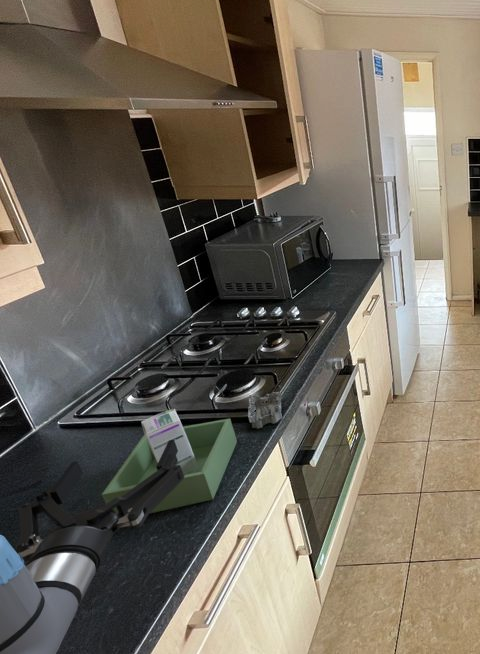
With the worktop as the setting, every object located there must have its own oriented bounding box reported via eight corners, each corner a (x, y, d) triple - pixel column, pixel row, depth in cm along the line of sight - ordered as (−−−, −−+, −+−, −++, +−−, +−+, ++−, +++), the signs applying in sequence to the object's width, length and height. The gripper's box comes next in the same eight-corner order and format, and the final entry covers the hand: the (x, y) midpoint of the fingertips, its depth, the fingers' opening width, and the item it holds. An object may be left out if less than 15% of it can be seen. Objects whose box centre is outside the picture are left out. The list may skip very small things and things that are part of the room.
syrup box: (201, 472, 90) (182, 419, 84) (167, 490, 86) (145, 434, 80) (194, 459, 93) (175, 406, 88) (161, 474, 89) (139, 420, 84)
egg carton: (251, 406, 111) (248, 394, 110) (283, 398, 114) (280, 386, 113) (249, 432, 102) (245, 418, 101) (283, 422, 106) (280, 409, 104)
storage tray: (114, 521, 80) (101, 494, 78) (154, 457, 95) (145, 433, 92) (213, 499, 85) (204, 473, 82) (237, 441, 99) (230, 418, 97)
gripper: (-57, 628, 52) (42, 494, 71) (181, 554, 61) (214, 452, 80) (-88, 590, 50) (24, 460, 68) (166, 518, 59) (204, 421, 77)
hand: (127, 456), depth 74 cm, fingers open, 13 cm apart
